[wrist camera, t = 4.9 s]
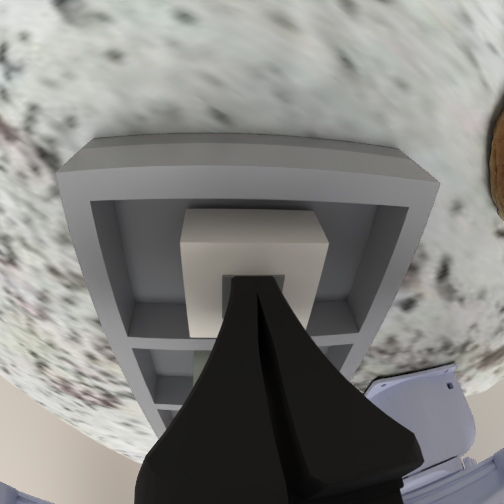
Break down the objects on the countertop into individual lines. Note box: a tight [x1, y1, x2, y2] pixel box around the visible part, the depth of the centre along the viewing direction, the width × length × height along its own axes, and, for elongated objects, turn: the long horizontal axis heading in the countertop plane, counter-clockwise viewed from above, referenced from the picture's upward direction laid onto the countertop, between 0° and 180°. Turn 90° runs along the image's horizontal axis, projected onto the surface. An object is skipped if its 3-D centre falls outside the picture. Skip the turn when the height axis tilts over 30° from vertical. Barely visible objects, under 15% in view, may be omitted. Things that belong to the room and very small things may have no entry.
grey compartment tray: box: [56, 133, 440, 439], centre depth 16 cm, size 12×22×3 cm, turn 176°
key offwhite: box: [180, 209, 329, 338], centre depth 12 cm, size 4×4×2 cm
